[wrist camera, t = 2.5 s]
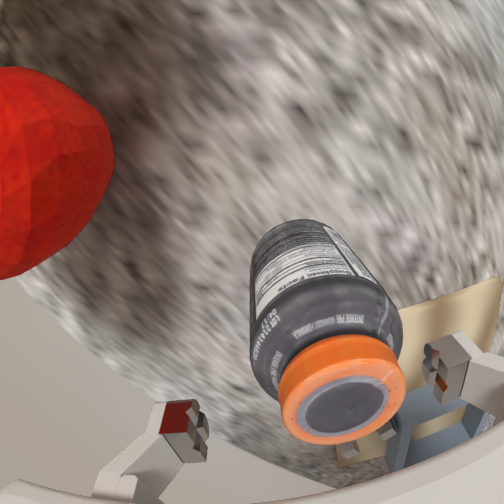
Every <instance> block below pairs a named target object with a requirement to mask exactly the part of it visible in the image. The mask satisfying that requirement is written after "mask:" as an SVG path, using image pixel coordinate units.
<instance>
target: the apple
mask: <svg viewBox="0 0 504 504" xmlns="http://www.w3.org/2000/svg"><path fill="white" fill-rule="evenodd" d="M114 164H115V157H114V150H113V144H112V140H111V136H110V132H109V129H108V127H107V125H106V123H105V120H104V118H103V116H102V114H101V113H100V112H99V111H98V110H96V109H95V108H94V107H93V106H92V105H90V104H89V103H88V102H86V101H85V100H84V99H83V98H81V97H80V96H79V95H78V94H76V93H75V92H74V91H73V90H71V89H70V88H69V87H68V86H66V85H64V84H62V83H61V82H59V81H57V80H55V79H54V78H51V77H49V76H47V75H45V74H42V73H40V72H38V71H36V70H32V69H28V68H25V67H0V280H4V279H7V278H11V277H15V276H18V275H21V274H23V273H24V272H26V271H28V270H29V269H31V268H33V267H35V266H37V265H38V264H40V263H41V262H43V261H44V260H46V259H47V258H49V257H50V256H52V255H53V254H55V253H56V252H58V251H60V250H61V249H63V248H64V247H66V246H67V245H68V244H69V243H70V242H71V241H72V240H73V239H74V238H75V237H76V236H77V235H78V234H79V232H80V231H81V230H82V229H83V228H84V226H85V225H86V224H87V223H88V221H89V220H90V219H91V217H92V215H93V213H94V212H95V210H96V208H97V206H98V205H99V203H100V201H101V199H102V197H103V195H104V193H105V191H106V189H107V187H108V185H109V182H110V180H111V177H112V175H113V170H114Z"/></svg>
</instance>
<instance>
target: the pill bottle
mask: <svg viewBox="0 0 504 504" xmlns="http://www.w3.org/2000/svg"><path fill="white" fill-rule="evenodd" d="M402 344H403V326H402V321H401V318H400V315H399V312H398V310H397V308H396V306H395V305H394V304H393V302H392V300H391V299H390V298H389V296H388V295H387V293H386V292H385V290H384V288H383V287H382V286H381V285H380V284H379V282H378V281H377V280H376V279H375V278H374V276H373V275H372V274H371V273H370V271H369V270H368V269H367V268H366V267H365V265H364V264H363V263H362V261H361V260H360V259H359V258H358V257H357V256H356V254H355V253H354V252H353V251H352V250H351V249H350V247H349V246H348V245H347V244H346V242H345V241H344V240H343V239H342V238H341V236H340V235H339V234H338V233H337V232H335V231H334V230H333V229H332V228H331V227H329V226H327V225H326V224H324V223H321V222H318V221H315V220H309V219H297V220H292V221H288V222H285V223H282V224H280V225H278V226H276V227H274V228H273V229H271V230H270V231H269V232H268V233H267V234H266V235H265V236H264V237H263V238H262V239H261V240H260V242H259V243H258V245H257V246H256V248H255V251H254V253H253V255H252V260H251V267H250V361H251V366H252V370H253V373H254V375H255V377H256V379H257V381H258V383H259V384H260V386H261V387H262V388H263V389H264V391H265V392H266V393H267V394H269V395H270V396H271V397H272V398H274V399H275V400H277V401H279V403H280V406H281V413H282V419H283V422H284V425H285V427H286V428H287V429H288V431H289V432H290V433H291V434H292V435H293V436H295V437H296V438H298V439H299V440H302V441H305V442H308V443H312V444H320V445H334V444H341V443H346V442H350V441H353V440H356V439H359V438H361V437H364V436H366V435H368V434H370V433H372V432H374V431H375V430H377V429H378V428H380V427H381V426H383V425H384V424H385V423H386V422H387V421H389V420H390V419H391V418H392V417H393V416H394V414H395V413H396V412H397V411H398V409H399V408H400V406H401V405H402V402H403V400H404V398H405V394H406V379H405V376H404V374H403V372H402V370H401V369H400V367H399V365H398V362H397V361H398V359H399V356H400V353H401V349H402Z"/></svg>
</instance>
